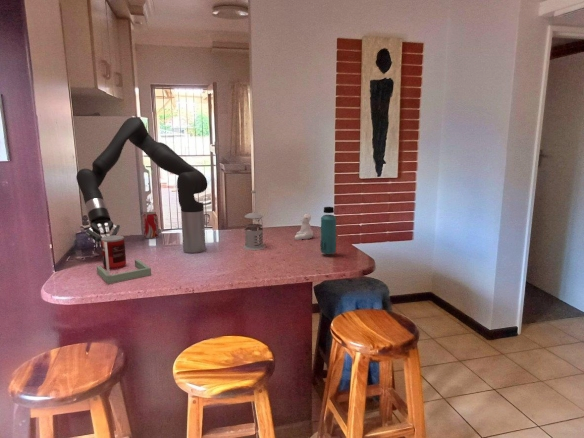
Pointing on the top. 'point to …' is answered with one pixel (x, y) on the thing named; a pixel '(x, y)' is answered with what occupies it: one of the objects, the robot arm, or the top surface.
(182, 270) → the top surface
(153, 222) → the soda can
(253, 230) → the french press
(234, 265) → the top surface
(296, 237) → the white figurine
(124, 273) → the holder tray
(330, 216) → the beverage bottle
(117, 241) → the canned food
